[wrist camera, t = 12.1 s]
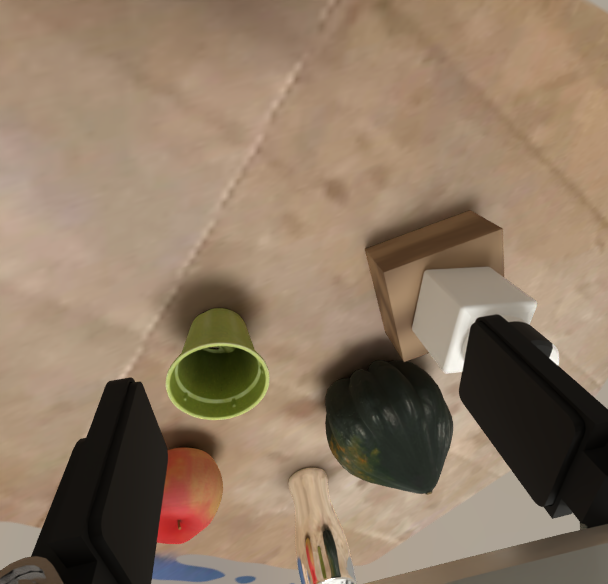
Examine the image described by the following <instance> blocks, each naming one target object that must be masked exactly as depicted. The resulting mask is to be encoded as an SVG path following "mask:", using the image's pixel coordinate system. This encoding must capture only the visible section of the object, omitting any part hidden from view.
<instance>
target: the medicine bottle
mask: <svg viewBox="0 0 608 584" xmlns="http://www.w3.org/2000/svg"><path fill="white" fill-rule="evenodd" d="M536 307H537V302H536V300H534V299H533V298H531V297H530V296H529V295H527V294H526V293H525V292H523V291H522V290H521V289H519V288H518V287H516V286H515V285H514V284H512V283H511V282H510V281H508V280H507V279H505V278H504V277H503V276H501V275H500V274H499V273H497V272H496V271H494V270H493V269H492V268H490V267H471V268H451V269H432V270H426V271H425V272H424V274H423V279H422V284H421V288H420V293H419V298H418V302H417V307H416V311H415V316H414V321H413V325H412V330H413V332H414V333H415V334H416V336H417V337H418V339H419V340H420V341H421V343H422V344H423V345H424V347H425V348H426V349H427V351H428V352H429V353H430V355H431V356H432V357H433V359H434V360H435V361H436V363H437V364H438V365H439V367H440V368H441V369H442V371H443V372H444V373H455V372H462V371H463V365H464V360H465V354H466V348H467V343H468V337H469V332H470V327H471V325H472V324H473V323H475V320H476V319H477V318H479V317H483V316H489V315H495V314H498V315H500V316H502V317H503V318H504V319H506V320H507V321H508V322H509V323H510V324H511V325H512V326H513V327H515V328H516V329H517V330H518V331H519V332H520V333H521V334H523V335H524V336H525V337H526V338H527V339H528V340H529V341H531V342H532V343H533V344H534V345H535V346H536V347H537V348H538V349H540V350H541V351H542V352H543V353H544V354H545V355H546V356H548V357H549V358H550V359H551V360H552V361H553V362H554V363H556V364H557V365H559V353H558V350H557V348H556V346H555V345H553V344H552V343H551V342H550V341H549V340H547V339H546V338H545V337H544V336H543V335H541V334H540V333H539V332H538V331H536V330H535V329H534V328H533V327H532V326H530V325H529V324H530V322H531V319H532V317H533V314H534V312H535V309H536Z"/></svg>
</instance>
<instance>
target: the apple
mask: <svg viewBox="0 0 608 584" xmlns="http://www.w3.org/2000/svg"><path fill="white" fill-rule="evenodd" d="M167 451H168V465H167V472H166V479H165V486H164V494H163V501H162V508H161V515H160V522H159V530H158V537H157V542H158V543H165V544H181V543H184V542H187V541H188V540H190V539H191V538H193V537H194V536H195V535H197V534H198V533H199V532H201V531H202V530H203V529H204V528H206V527H207V526H208V525H209V524H210V522H211V521H212V519H213V518H214V516H215V514H216V512H217V509H218V507H219V504H220V501H221V498H222V493H223V482H222V477H221V474H220V471H219V468H218V466H217V464H216V463H215V461H214V460H213V458H212V457H211V456H210V455H209V454H208V453H206V452H204V451H202V450H199V449H195V448H185V447H183V448H174V449H170V450H167Z"/></svg>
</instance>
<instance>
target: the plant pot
mask: <svg viewBox="0 0 608 584" xmlns="http://www.w3.org/2000/svg"><path fill="white" fill-rule="evenodd" d="M208 347H219V349H217V350H216V349H210V348H208ZM268 386H269V371H268V367H267V365H266V363H265V361H264V360H263V358H262V357H261V356H260V355H259V354H258V353H257V352H256V351H255V350H254V347H253V344H252V341H251V339H250V336H249V333H248V330H247V327H246V324H245V322H244V321H243V319H242V318H241V317H240V316H239V315H238V314H237V313H235V312H234V311H231V310H228V309H224V308H214V309H210V310H208V311H206V312H204V313H202V314H200V315H198V316H197V317H196V318H195V319H194V321H193V322H192V324H191V327H190V330H189V333H188V336H187V339H186V342H185V345H184V347H183V350H182V353H181V354H180V355H179V357H178V358H177V359H176V360H175V361H174V362H173V364H172V365H171V367H170V369H169V371H168V374H167V377H166V390H167V393H168V396H169V398H170V400H171V401H172V403H173V404H174V405H175V406H176V407H177V408H178V409H180V410H181V411H183V412H185V413H186V414H188V415H191V416H193V417H196V418H200V419H207V420H223V419H229V418H233V417H236V416H239V415H242V414H244V413H246V412H247V411H249V410H251V409H252V408H254V407H255V406H256V405H257V404H258V403H259V402H260V401H261V400H262V399H263V397H264V396H265V394H266V392H267V389H268Z"/></svg>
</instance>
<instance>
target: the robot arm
mask: <svg viewBox="0 0 608 584" xmlns="http://www.w3.org/2000/svg"><path fill="white" fill-rule="evenodd" d="M459 395H460V398H461V401H462V402H463V404H464V405H465V407H466V408H467V409H468V411H469V412H470V413H471V415H472V416H473V418H474V419H475V420H476V422H477V423H478V425H479V426H480V427H481V429H482V430H483V431H484V433H485V434H486V436H487V437H488V438H489V440H490V441H491V443H492V444H493V445H494V447H495V448H496V449H497V451H498V452H499V454H500V455H501V456H502V458H503V459H504V460H505V462H506V463H507V465H508V466H509V467H510V469H511V470H512V472H513V473H514V474H515V476H516V477H517V478H518V480H519V481H520V483H521V484H522V485H523V487H524V488H525V489H526V491H527V492H528V494H529V495H530V496H531V498H532V499H533V500H534V502H535V503H536V504H537V505H539V506H541V507H544V508H545V509H546V511H547V512H548V514H549V515H550V516H551V517H552V519H553V518H557V517H561V516H564V515H569V514H572V512H573V513H574V515H575V516H576V517H577V519H578V520H579V521H580V530H579V531H574V532H570V533H565V534H561V535H557V536H553V537H549V538H545V539H541V540H537V541H533V542H529V543H525V544H520V545H517V546H512V547H508V548H504V549H500V550H496V551H492V552H488V553H484V554H480V555H476V556H472V557H468V558H464V559H460V560H456V561H452V562H448V563H444V564H440V565H436V566H432V567H428V568H424V569H420V570H416V571H412V572H408V573H405V574H400V575H396V576H392V577H388V578H384V579H381V580H377V581H373V582H369V583H365V584H608V409H607V408H606V407H604V406H603V405H602V404H601V403H600V402H599V401H598V400H596V399H595V398H594V397H593V396H592V395H591V394H590V393H589V392H587V391H586V390H585V389H584V388H583V387H582V386H581V385H579V384H578V383H577V382H576V381H575V380H574V379H573V378H571V377H570V376H569V375H568V374H567V373H566V372H565V371H564V370H562V369H561V368H560V367H559V366H558V365H557V364H556V363H554V362H553V361H552V360H551V359H550V358H549V357H548V356H546V355H545V354H544V353H543V352H542V351H541V350H540V349H538V348H537V347H536V346H535V345H534V344H533V343H532V342H531V341H529V340H528V339H527V338H526V337H525V336H524V335H523V334H521V333H520V332H519V331H518V330H517V329H516V328H515V327H513V326H512V325H511V324H510V323H509V322H508V321H507V320H506V319H504V318H503V317H502V316H500V315H498V314H495V315H489V316H483V317H479V318H477V319H476V320H475V323H473V324H472V325H471V327H470V332H469V337H468V343H467V348H466V354H465V360H464V365H463V371H462V376H461V382H460V387H459ZM167 465H168V451H167V447H166V444H165V441H164V439H163V436H162V433H161V431H160V428H159V426H158V423H157V420H156V418H155V415H154V413H153V410H152V407H151V405H150V402H149V400H148V397H147V394H146V392H145V389H144V387H143V384H142V383H141V382H135V381H134V379H133V378H125V379H119V380H114V381H109V382H108V383H107V384H106V386H105V389H104V392H103V394H102V397H101V400H100V402H99V405H98V408H97V411H96V413H95V416H94V419H93V421H92V424H91V427H90V429H89V432H88V435H87V438H83V439H80V440H79V441H78V442H77V443H76V445H75V447H74V449H73V451H72V454H71V456H70V459H69V461H68V464H67V467H66V469H65V472H64V474H63V477H62V479H61V482H60V484H59V487H58V489H57V492H56V494H55V497H54V500H53V502H52V505H51V507H50V510H49V512H48V515H47V517H46V520H45V522H44V525H43V528H42V530H41V533H40V535H39V538H38V540H37V543H36V545H35V548H34V551H33V553H32V556H31V557H27V558H23V559H21V560H18V561H16V562H13V563H11V564H9V565H8V566H6V567H5V568H3V569H2V570H0V584H151V580H152V573H153V566H154V558H155V551H156V544H157V537H158V530H159V522H160V515H161V508H162V501H163V494H164V486H165V479H166V472H167Z"/></svg>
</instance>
